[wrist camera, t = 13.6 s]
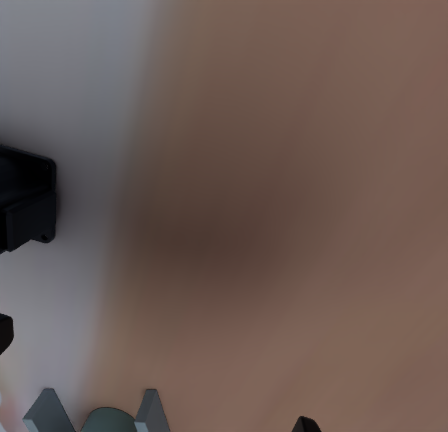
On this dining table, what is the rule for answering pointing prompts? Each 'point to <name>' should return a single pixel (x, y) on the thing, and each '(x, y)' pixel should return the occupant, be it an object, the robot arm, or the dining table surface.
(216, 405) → the dining table surface
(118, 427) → the aqua tapered cylinder
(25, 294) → the dining table surface
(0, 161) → the robot arm
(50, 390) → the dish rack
